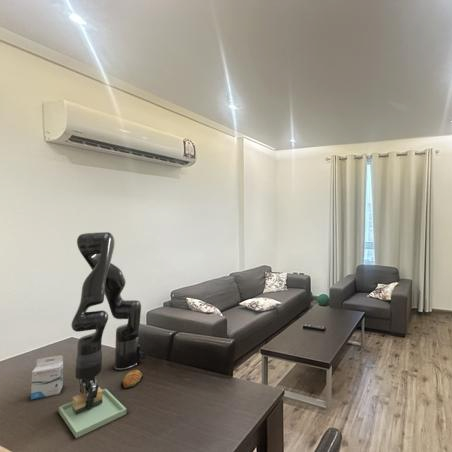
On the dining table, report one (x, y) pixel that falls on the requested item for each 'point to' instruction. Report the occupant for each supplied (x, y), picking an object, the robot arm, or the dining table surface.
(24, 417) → the dining table surface
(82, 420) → the tray
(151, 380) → the dining table surface
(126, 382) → the pastry
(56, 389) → the ink box
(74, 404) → the eraser
